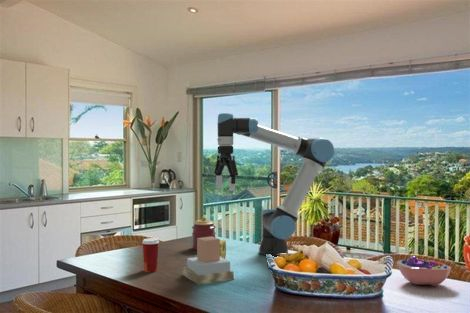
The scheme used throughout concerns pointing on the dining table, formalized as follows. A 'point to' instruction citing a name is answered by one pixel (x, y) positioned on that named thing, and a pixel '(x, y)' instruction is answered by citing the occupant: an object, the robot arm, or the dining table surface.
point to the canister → (202, 230)
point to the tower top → (208, 266)
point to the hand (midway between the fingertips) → (225, 189)
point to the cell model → (423, 271)
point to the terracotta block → (208, 249)
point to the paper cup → (150, 254)
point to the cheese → (223, 249)
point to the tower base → (207, 276)
